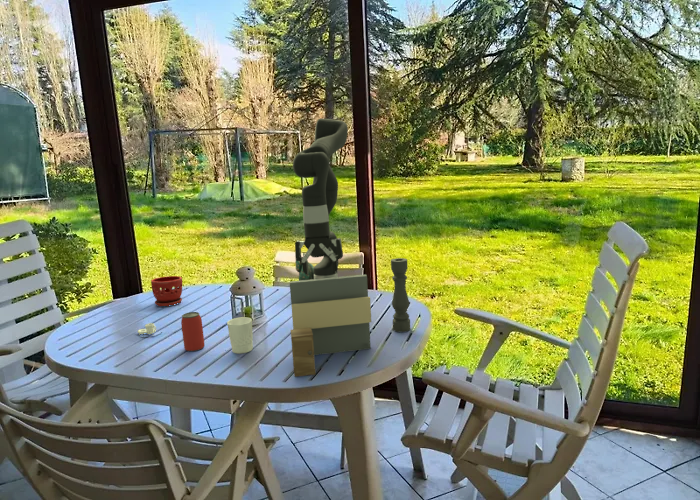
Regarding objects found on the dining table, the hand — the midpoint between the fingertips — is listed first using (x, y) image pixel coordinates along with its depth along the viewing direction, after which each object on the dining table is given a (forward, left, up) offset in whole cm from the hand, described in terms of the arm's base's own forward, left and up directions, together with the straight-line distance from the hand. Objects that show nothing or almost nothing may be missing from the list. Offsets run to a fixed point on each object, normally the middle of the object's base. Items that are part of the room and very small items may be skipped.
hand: (320, 273), depth 148 cm
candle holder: (+9, +31, -27) cm, 42 cm away
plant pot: (-101, +12, -27) cm, 105 cm away
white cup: (-28, -10, -27) cm, 40 cm away
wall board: (-1, +4, -26) cm, 27 cm away
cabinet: (+2, -12, -26) cm, 29 cm away
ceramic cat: (-49, +49, -27) cm, 74 cm away
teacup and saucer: (-74, -14, -27) cm, 80 cm away
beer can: (-44, -17, -27) cm, 54 cm away
